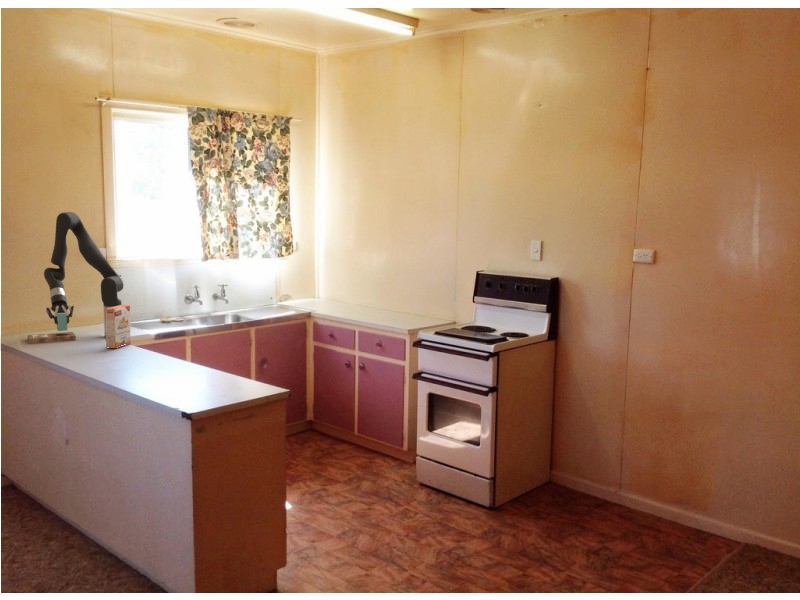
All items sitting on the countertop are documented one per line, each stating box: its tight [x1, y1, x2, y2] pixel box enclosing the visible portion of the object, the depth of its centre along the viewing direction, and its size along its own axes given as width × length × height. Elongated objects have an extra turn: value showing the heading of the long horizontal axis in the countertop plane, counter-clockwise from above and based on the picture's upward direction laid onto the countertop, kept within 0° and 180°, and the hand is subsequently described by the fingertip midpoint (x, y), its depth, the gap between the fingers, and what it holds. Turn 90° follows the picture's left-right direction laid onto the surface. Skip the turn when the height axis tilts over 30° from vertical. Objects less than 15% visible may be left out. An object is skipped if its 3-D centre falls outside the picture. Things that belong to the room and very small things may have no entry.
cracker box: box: [105, 304, 132, 349], centre depth 376 cm, size 14×6×21 cm, turn 168°
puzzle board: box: [27, 331, 77, 345], centre depth 386 cm, size 22×12×3 cm, turn 121°
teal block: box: [56, 313, 68, 332], centre depth 387 cm, size 4×4×9 cm
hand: (62, 323), depth 386 cm, fingers closed on teal block, 4 cm apart
